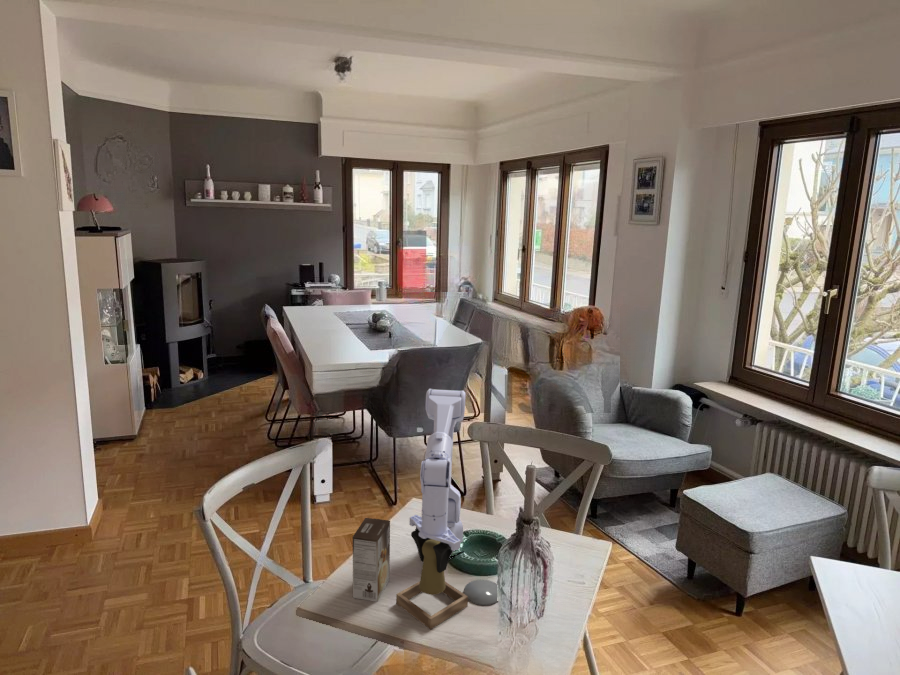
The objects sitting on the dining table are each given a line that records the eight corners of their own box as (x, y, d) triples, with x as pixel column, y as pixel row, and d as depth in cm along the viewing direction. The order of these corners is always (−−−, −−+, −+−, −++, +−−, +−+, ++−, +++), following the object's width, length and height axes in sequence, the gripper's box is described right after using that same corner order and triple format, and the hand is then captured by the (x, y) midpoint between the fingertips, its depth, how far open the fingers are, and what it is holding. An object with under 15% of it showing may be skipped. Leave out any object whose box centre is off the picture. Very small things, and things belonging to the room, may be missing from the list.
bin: (433, 582, 150) (433, 573, 149) (467, 606, 142) (467, 596, 141) (396, 603, 142) (396, 594, 141) (430, 629, 134) (430, 619, 133)
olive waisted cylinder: (415, 581, 142) (416, 537, 140) (440, 577, 144) (442, 533, 142) (423, 596, 136) (425, 551, 134) (449, 591, 138) (451, 546, 136)
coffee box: (365, 575, 152) (365, 516, 148) (390, 579, 151) (391, 519, 147) (352, 598, 143) (351, 536, 139) (378, 602, 142) (379, 540, 138)
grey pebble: (481, 576, 153) (481, 574, 153) (509, 593, 147) (509, 591, 146) (456, 592, 147) (456, 590, 146) (484, 610, 140) (484, 608, 140)
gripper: (399, 504, 138) (398, 557, 142) (444, 530, 129) (442, 587, 132) (422, 494, 143) (421, 546, 146) (468, 518, 133) (465, 573, 137)
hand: (433, 565), depth 139 cm, fingers closed on olive waisted cylinder, 5 cm apart
